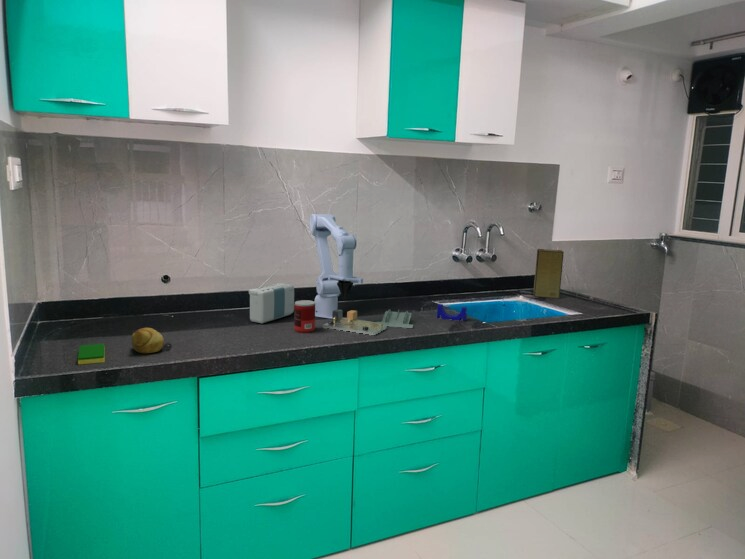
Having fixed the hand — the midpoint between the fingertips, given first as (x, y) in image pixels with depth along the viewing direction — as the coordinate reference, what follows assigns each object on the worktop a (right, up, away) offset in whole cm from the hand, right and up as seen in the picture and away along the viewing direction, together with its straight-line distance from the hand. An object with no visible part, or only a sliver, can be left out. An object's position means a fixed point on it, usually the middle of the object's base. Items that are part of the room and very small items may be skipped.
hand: (344, 299), depth 220 cm
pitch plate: (+4, -11, -3) cm, 12 cm away
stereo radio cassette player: (-31, -8, +8) cm, 32 cm away
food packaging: (+105, -1, +79) cm, 131 cm away
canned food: (-15, -12, -9) cm, 21 cm away
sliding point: (+3, -9, 0) cm, 9 cm away
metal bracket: (+21, -11, +8) cm, 25 cm away
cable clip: (+45, -9, +19) cm, 50 cm away
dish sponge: (-76, -17, -48) cm, 92 cm away
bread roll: (-63, -15, -39) cm, 75 cm away
